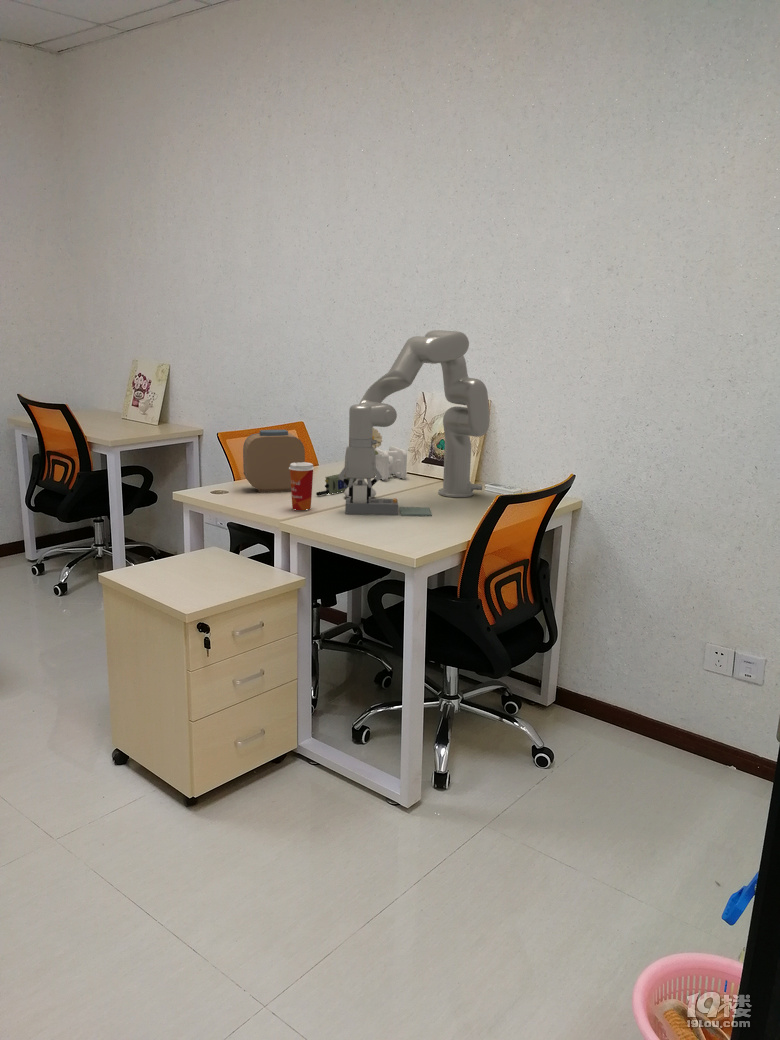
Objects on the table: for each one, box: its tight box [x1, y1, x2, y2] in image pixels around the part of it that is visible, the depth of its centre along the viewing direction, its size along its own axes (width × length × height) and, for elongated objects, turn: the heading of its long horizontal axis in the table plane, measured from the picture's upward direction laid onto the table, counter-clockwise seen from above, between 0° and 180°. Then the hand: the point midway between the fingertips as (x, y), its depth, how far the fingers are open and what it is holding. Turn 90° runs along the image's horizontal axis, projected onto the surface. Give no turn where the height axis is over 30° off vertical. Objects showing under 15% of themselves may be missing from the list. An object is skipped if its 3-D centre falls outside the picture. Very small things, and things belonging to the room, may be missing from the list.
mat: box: [399, 506, 433, 517], centre depth 273 cm, size 10×10×1 cm
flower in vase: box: [343, 427, 383, 499], centre depth 289 cm, size 13×11×25 cm
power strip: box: [344, 497, 399, 516], centre depth 272 cm, size 17×8×4 cm, turn 92°
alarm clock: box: [242, 429, 306, 493], centre depth 299 cm, size 21×10×22 cm, turn 108°
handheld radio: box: [315, 473, 356, 497], centre depth 300 cm, size 7×3×25 cm
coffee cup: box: [289, 461, 315, 511], centre depth 272 cm, size 8×8×15 cm
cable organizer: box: [375, 445, 408, 481], centre depth 327 cm, size 15×11×12 cm
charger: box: [353, 480, 368, 503], centre depth 271 cm, size 4×4×10 cm
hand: (359, 498), depth 271 cm, fingers closed on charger, 4 cm apart
